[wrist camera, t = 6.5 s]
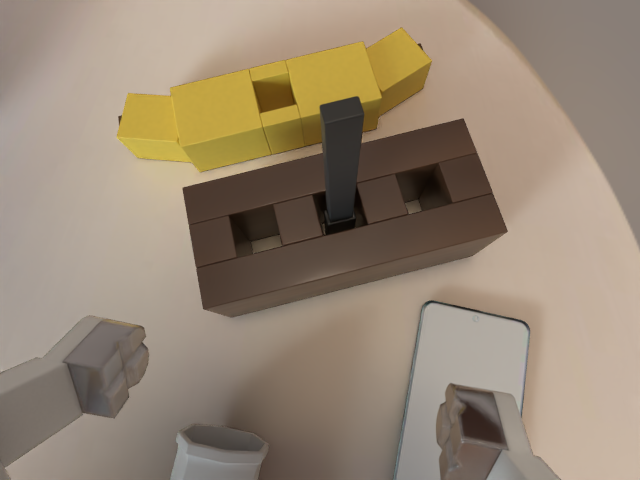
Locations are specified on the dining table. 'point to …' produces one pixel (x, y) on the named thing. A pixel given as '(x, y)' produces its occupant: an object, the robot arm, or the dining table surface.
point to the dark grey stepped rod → (341, 160)
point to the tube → (218, 454)
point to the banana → (271, 103)
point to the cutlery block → (346, 246)
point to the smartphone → (456, 374)
